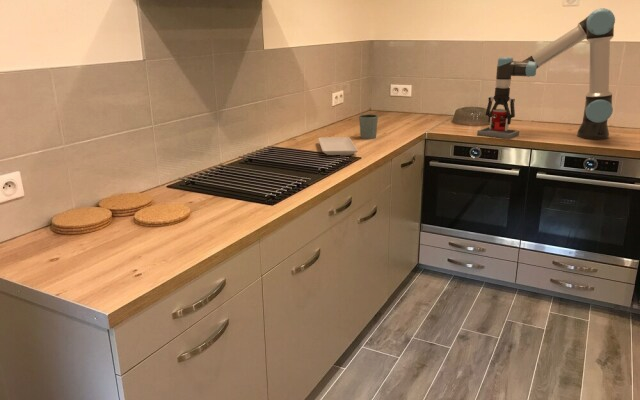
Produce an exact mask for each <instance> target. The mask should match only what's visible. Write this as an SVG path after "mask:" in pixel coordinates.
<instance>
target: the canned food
mask: <svg viewBox="0 0 640 400" xmlns="http://www.w3.org/2000/svg"><path fill="white" fill-rule="evenodd" d="M506 119H507V114H506V111H505V108H496V109H495V110H493V113H492V125H491V129H492V130H494V131H505V124H506Z"/></svg>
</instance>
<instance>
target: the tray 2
mask: <svg viewBox="0 0 640 400" xmlns="http://www.w3.org/2000/svg"><path fill="white" fill-rule="evenodd" d="M489 127H490V126H486V127H484V128H481V129H478V130H477V132H476V136H479V137H488V138H494V137H495V138H496V139H503V140H511V139H513V137H514V138H515V136H516V137H518V136H519V135H520V130H518V129H510V128H508V130H507V131H494V130H492V129H489ZM495 138H494V139H495Z"/></svg>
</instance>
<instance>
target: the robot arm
mask: <svg viewBox="0 0 640 400" xmlns="http://www.w3.org/2000/svg"><path fill="white" fill-rule="evenodd" d="M615 23H616V16H615V14H614V13H613V12H612V10H610V9H607V8H598V9H594V10H593V11H592V12H591V13H590V14H589V15H588V16H587V17H585V18H584V19H582V20H581V21H580V22H578V23H577V26H575V27H574V28H572V29H571V30H569V31H568V32H567V33H565V34H563V35H562V36H560V37H558V38H557V39H555V40H553V41H552V42H550V43H549V44H547V45H546V46H544V47H543V48H541V49H539V50H538V51H537V52H534V53H533V54H532V55H529V56H528V57H527V58H525V59H524V60H522V61H515V60H514V58H513V57H510V56H509V57H508V56H501V57H499V58H498V59H497V66H496V77H495V88H494V89H495V90H494V96H490V97H488V102H487V103H488V104H487V107H486V111H485V116H488V121H487V122H488V123H489V126H488V127H489V129H491V125H492V113H493V110H495V109H498V108H497V107H498V106H500V105H501V106H503V109H505V111H506V114H507V119H506V124H505V131H507V130H508V129H509V125H511V121H512V119H513V118H515V117H516V113H515V111H516V110H515V101H516V99H515V98H511V97H510V93H511V88H510V87H511V81H512V77H528V78H529V77H536V75H537V69H538V68H540V67H542V66H543V65H545V64H547V63H548V62H550V61H551V60H553V59H554V58H556V57H558V56H560V55H562V54H563V53H565V52H566V51H568V50H569V49H572V48H573V47H574V46H576V45H578V44H579V43H581V42H582V41H584V40H586V41H587V42H588V43H589V83H588V85H589V92H588V93H587V94H586V95H585V103H584V110H583V115H582V116H583V117H582V122H581V124H580V126H579V128H578V130H577V132H576V137H579V138H580V139H581V138H582V139H585V140H587V139H588V140H607V139H609V136H610V132H609V126H608V120H609V119H610V118H611V116H612V114H613V112H614V111H613V110H614V108H613V93H612V92H611V91H610V90H609V89H610V53H611V52H610V50H611V47H610V45H611V43H610V42H611V40H612V39H613V38H614V36H615V35H614V34H615V32H614V31H615V30H614V28H615ZM493 101H495V102H494V104H493ZM508 102H509V103H510V104H508ZM492 105H493V106H492ZM509 105H510V106H509Z"/></svg>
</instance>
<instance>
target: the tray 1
mask: <svg viewBox="0 0 640 400" xmlns="http://www.w3.org/2000/svg"><path fill="white" fill-rule="evenodd" d="M317 141H318V143H319V146H320V149H321V151H322V153H324V154H326V155H327V156H328V155H340V156H351V155H353V154H356V153H357V152H358V150H359V149H358V148H357V147H356V146H355V144H354V142H353V140H352V139H351V137H348V136H347V137H346V136H344V137H343V136H336V137H335V136H332V137H331V136H330V137H329V136H328V137H317Z"/></svg>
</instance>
